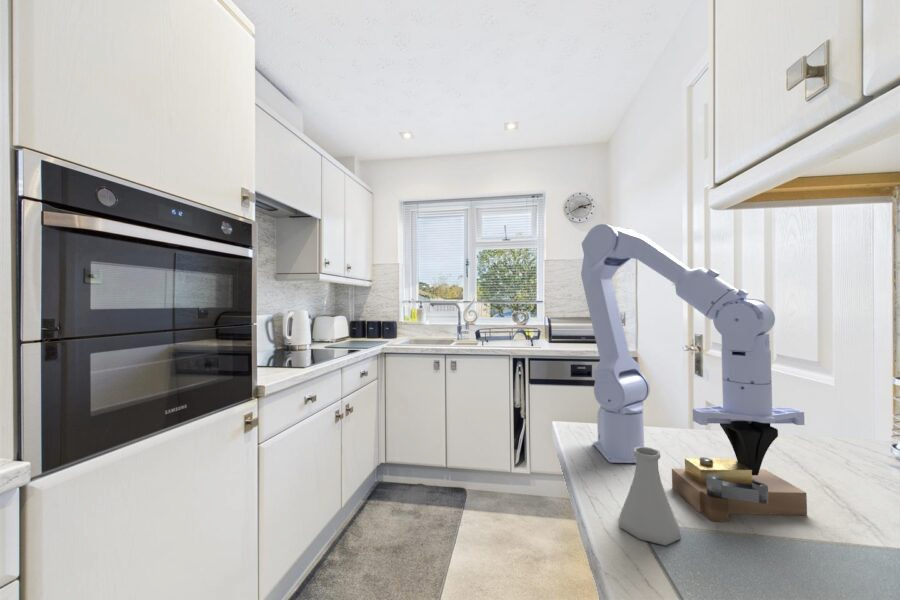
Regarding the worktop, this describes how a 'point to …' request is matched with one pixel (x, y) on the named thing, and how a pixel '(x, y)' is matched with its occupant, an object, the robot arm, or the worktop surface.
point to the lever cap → (718, 469)
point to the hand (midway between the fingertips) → (748, 472)
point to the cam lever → (737, 490)
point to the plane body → (780, 499)
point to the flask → (648, 502)
